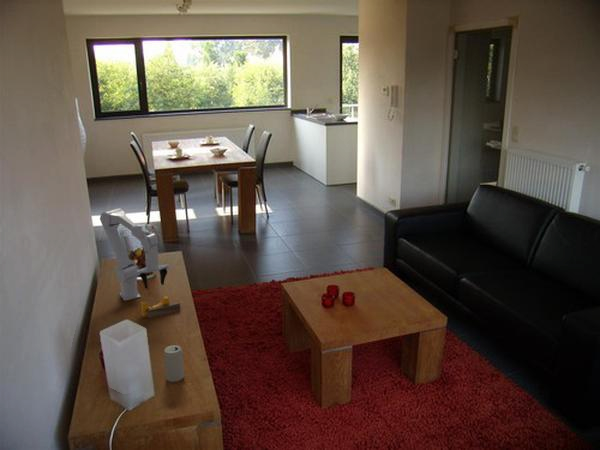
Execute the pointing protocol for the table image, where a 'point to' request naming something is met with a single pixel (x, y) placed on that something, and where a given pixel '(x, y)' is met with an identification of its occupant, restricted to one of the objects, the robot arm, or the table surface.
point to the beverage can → (174, 363)
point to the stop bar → (163, 309)
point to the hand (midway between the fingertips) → (154, 286)
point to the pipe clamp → (144, 306)
